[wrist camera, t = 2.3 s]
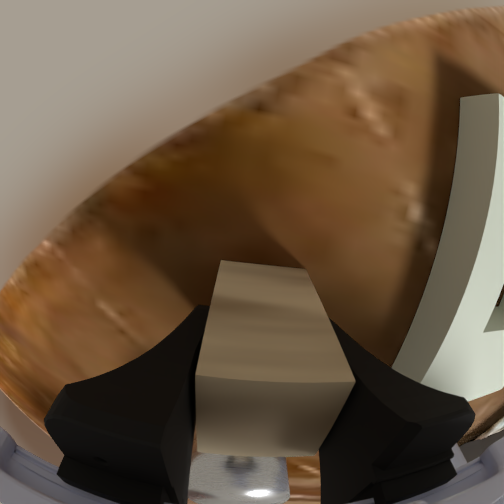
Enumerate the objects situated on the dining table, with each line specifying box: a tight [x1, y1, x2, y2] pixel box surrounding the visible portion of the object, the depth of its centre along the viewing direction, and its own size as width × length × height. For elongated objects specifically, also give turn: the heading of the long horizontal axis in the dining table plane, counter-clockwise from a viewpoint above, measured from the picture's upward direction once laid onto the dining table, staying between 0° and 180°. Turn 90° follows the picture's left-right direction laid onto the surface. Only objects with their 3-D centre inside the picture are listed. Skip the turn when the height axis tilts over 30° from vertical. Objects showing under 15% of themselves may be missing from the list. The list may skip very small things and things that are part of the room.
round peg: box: [188, 425, 290, 504], centre depth 14 cm, size 6×6×6 cm
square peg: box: [195, 260, 356, 457], centre depth 10 cm, size 4×4×7 cm
